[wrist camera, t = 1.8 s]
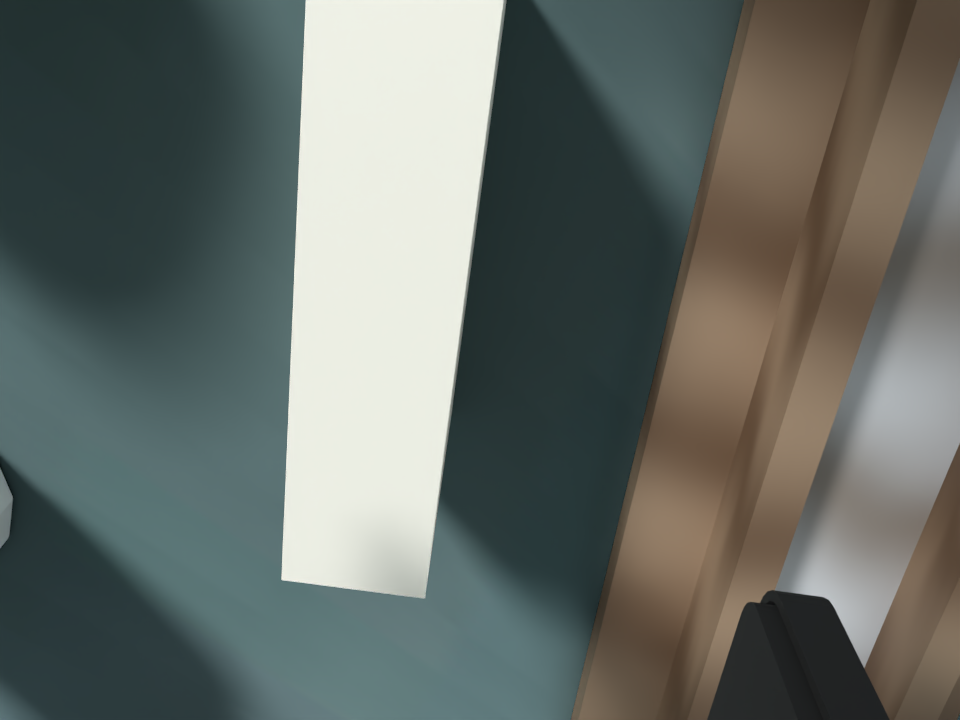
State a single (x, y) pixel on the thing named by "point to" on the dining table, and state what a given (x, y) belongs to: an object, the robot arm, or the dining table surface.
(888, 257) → the track frame
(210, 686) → the dining table surface
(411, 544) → the white rectangular block
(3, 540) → the white cup
